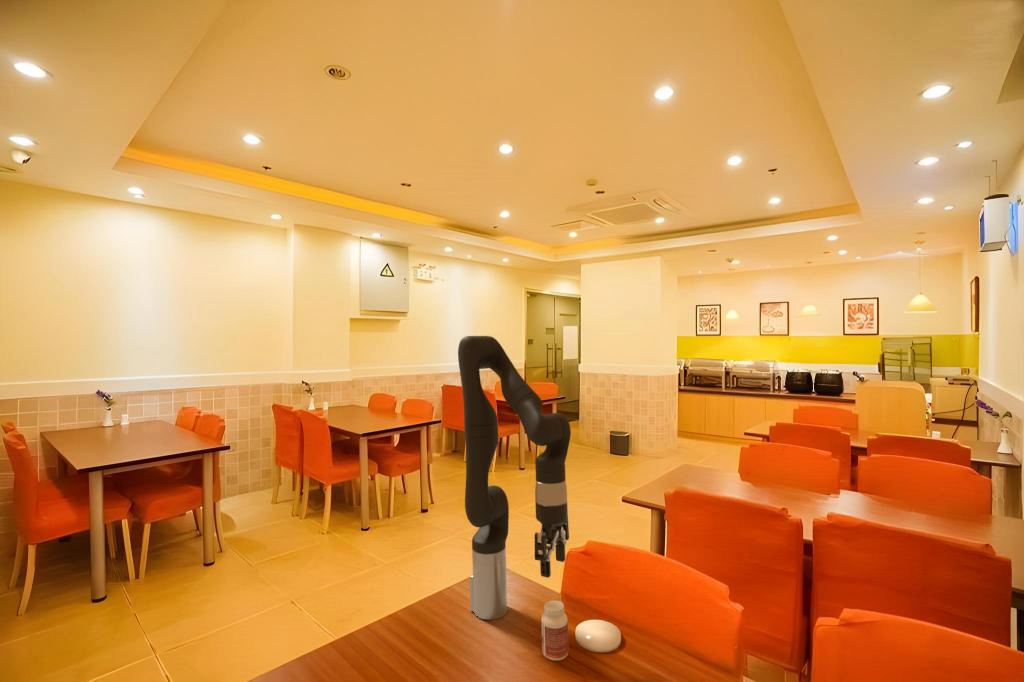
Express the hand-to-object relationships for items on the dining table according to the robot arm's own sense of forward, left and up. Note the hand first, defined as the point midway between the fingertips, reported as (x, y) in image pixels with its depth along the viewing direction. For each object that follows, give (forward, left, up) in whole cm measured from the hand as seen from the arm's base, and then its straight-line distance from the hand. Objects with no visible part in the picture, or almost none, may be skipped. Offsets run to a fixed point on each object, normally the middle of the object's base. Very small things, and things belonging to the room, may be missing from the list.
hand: (553, 568), depth 109 cm
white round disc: (+7, +10, -20) cm, 23 cm away
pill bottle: (0, 0, -20) cm, 20 cm away
